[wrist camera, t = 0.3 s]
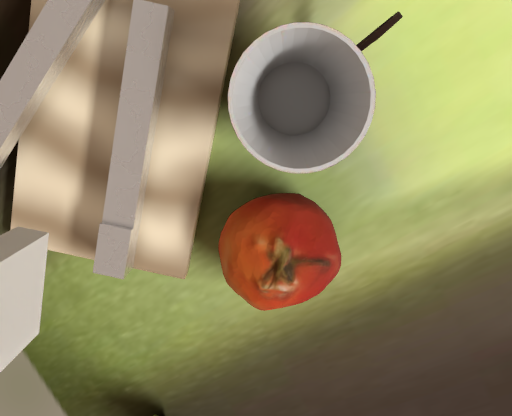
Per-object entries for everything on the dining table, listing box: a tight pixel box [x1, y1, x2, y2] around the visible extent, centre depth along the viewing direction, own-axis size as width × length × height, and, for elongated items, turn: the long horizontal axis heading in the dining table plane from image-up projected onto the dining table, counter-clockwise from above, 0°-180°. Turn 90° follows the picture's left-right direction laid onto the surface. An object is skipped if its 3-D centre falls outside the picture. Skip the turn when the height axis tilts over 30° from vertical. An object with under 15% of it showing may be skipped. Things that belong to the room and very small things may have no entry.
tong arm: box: [0, 0, 105, 169], centre depth 34 cm, size 20×2×2 cm, turn 143°
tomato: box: [218, 193, 341, 310], centre depth 36 cm, size 9×9×8 cm
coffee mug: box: [228, 12, 403, 173], centre depth 32 cm, size 12×9×10 cm
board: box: [10, 0, 240, 279], centre depth 36 cm, size 31×15×2 cm, turn 168°
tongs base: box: [93, 0, 175, 279], centre depth 33 cm, size 30×5×4 cm, turn 168°
